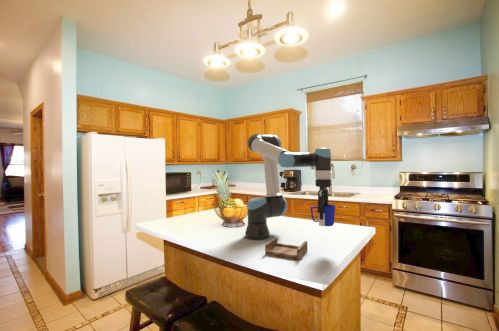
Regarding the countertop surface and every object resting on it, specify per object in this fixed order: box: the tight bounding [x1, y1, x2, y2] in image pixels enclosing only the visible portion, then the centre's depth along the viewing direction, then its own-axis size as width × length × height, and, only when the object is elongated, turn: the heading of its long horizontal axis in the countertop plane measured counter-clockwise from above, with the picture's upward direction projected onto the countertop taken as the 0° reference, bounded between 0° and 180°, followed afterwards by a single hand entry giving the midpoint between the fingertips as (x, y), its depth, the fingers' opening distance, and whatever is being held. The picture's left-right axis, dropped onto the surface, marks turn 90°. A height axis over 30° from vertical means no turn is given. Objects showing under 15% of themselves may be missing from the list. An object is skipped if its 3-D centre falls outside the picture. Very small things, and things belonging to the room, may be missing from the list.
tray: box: [264, 236, 308, 261], centre depth 125 cm, size 17×13×5 cm
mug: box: [310, 203, 336, 227], centre depth 126 cm, size 8×12×10 cm
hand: (323, 223), depth 126 cm, fingers closed on mug, 7 cm apart
